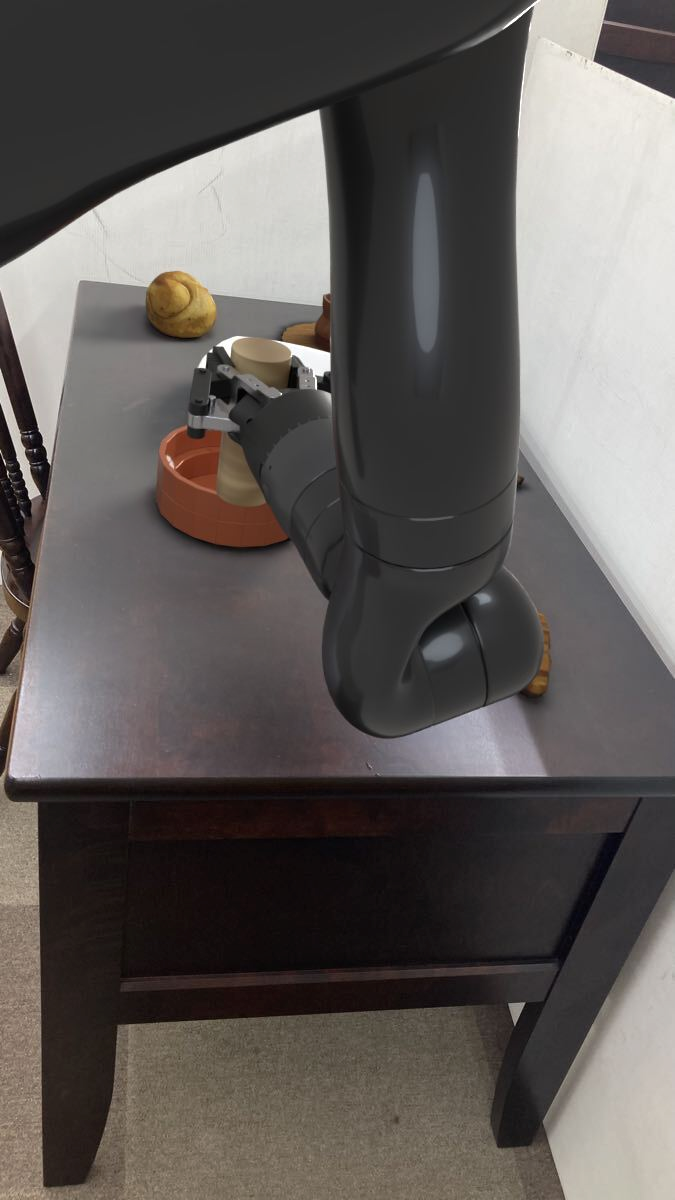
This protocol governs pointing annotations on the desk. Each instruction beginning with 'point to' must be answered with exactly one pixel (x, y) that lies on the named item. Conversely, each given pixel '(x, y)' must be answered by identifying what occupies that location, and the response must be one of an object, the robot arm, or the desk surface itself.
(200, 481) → the clay bowl
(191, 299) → the bread roll
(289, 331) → the ceramic pot
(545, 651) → the croissant
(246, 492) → the tan cylinder
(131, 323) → the desk surface
